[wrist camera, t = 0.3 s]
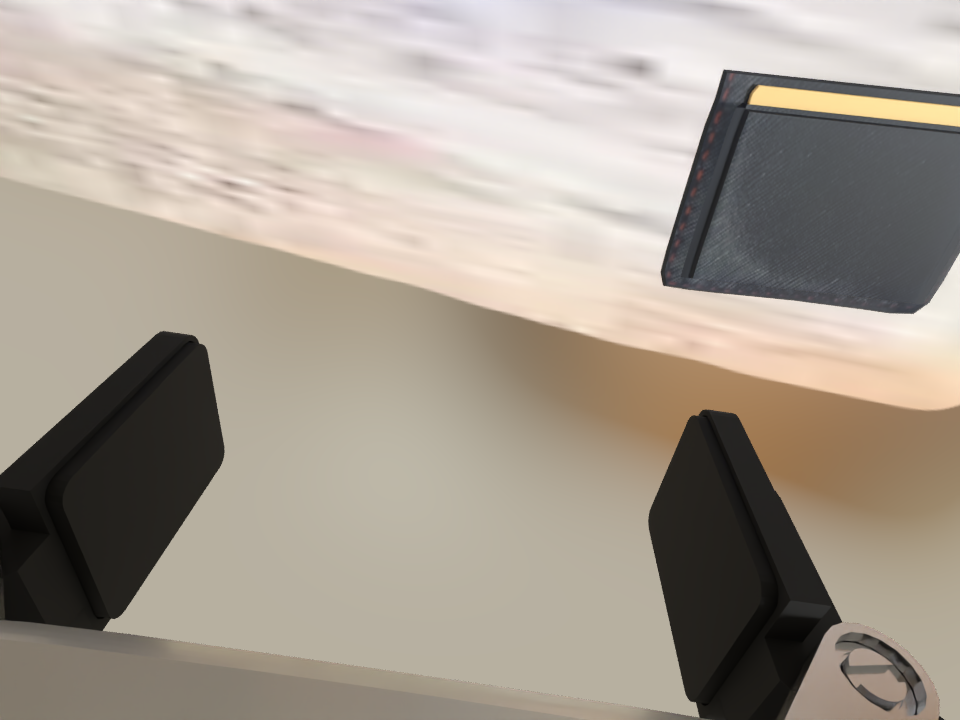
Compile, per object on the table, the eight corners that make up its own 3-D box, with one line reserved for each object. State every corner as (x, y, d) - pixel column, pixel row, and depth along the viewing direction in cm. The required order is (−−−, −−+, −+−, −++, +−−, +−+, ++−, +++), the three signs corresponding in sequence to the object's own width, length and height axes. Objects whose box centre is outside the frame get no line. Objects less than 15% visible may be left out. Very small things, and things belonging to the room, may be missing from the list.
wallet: (657, 291, 41) (733, 59, 33) (652, 280, 43) (724, 56, 34) (926, 330, 41) (1071, 107, 33) (911, 317, 43) (1046, 102, 34)
